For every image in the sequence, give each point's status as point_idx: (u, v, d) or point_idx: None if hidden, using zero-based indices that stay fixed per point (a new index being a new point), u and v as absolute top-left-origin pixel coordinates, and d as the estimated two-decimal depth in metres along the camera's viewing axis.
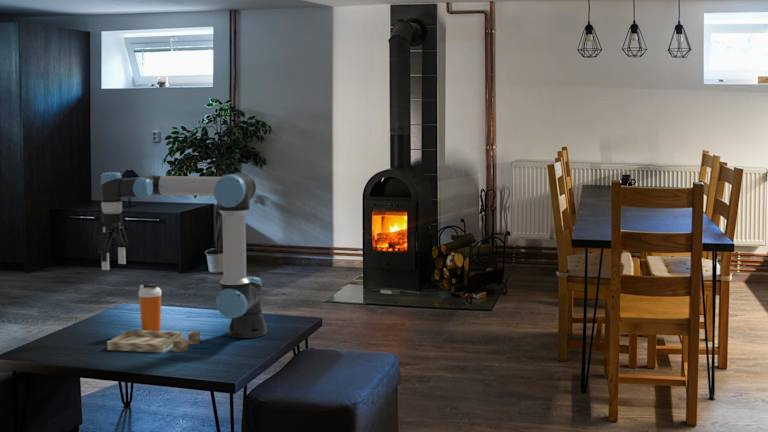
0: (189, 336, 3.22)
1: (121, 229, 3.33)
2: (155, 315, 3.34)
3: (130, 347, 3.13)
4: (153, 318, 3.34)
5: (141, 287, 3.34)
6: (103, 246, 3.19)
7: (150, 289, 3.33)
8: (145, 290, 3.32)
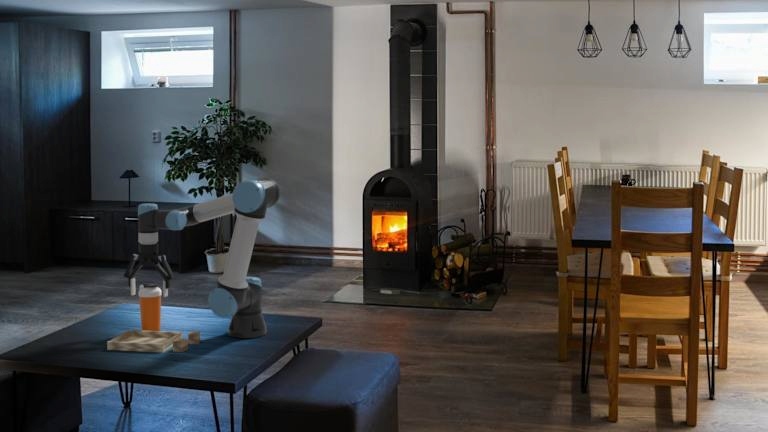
0: (189, 336, 3.22)
1: None
2: (155, 315, 3.34)
3: (130, 347, 3.13)
4: (153, 318, 3.34)
5: (141, 287, 3.34)
6: None
7: (150, 289, 3.33)
8: (145, 290, 3.32)
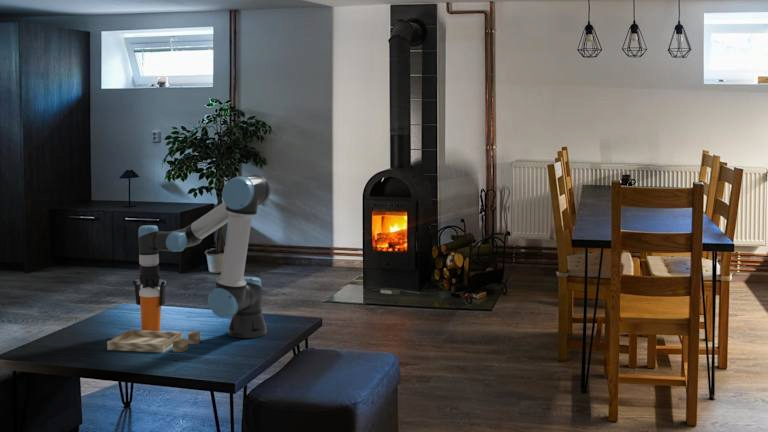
0: (189, 336, 3.22)
1: None
2: (155, 315, 3.34)
3: (130, 347, 3.13)
4: (153, 318, 3.34)
5: (142, 287, 3.34)
6: None
7: (151, 289, 3.33)
8: (146, 290, 3.32)
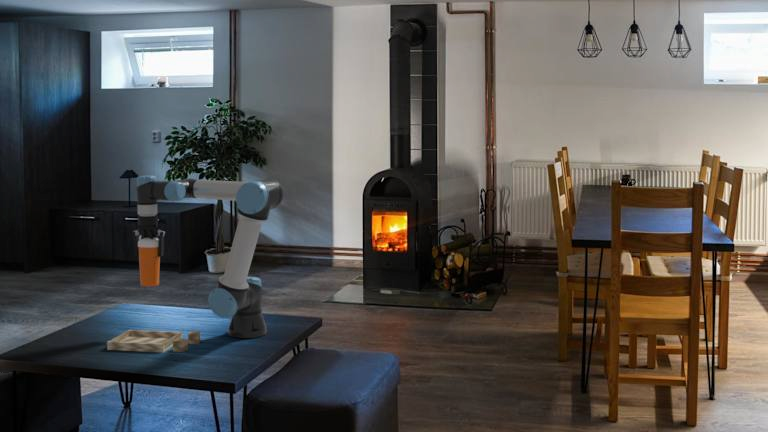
0: (189, 336, 3.22)
1: None
2: (154, 266, 3.32)
3: (130, 347, 3.13)
4: (152, 269, 3.32)
5: (140, 237, 3.32)
6: None
7: (150, 239, 3.31)
8: (145, 240, 3.30)
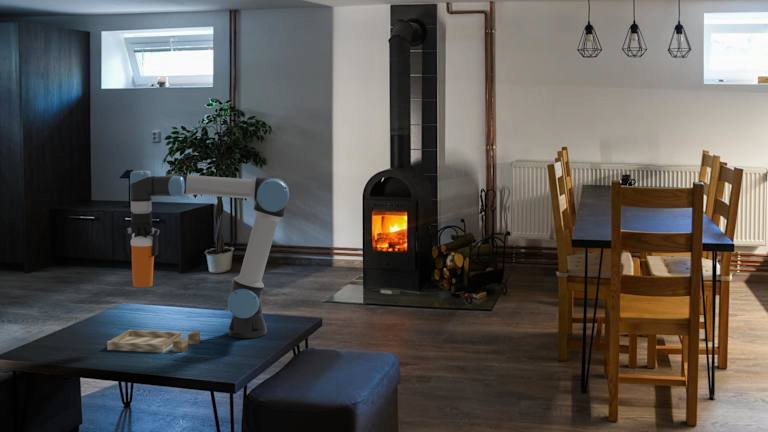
0: (189, 336, 3.22)
1: None
2: (147, 266, 3.15)
3: (130, 347, 3.13)
4: (146, 269, 3.15)
5: (133, 236, 3.15)
6: None
7: (143, 238, 3.14)
8: (138, 239, 3.13)
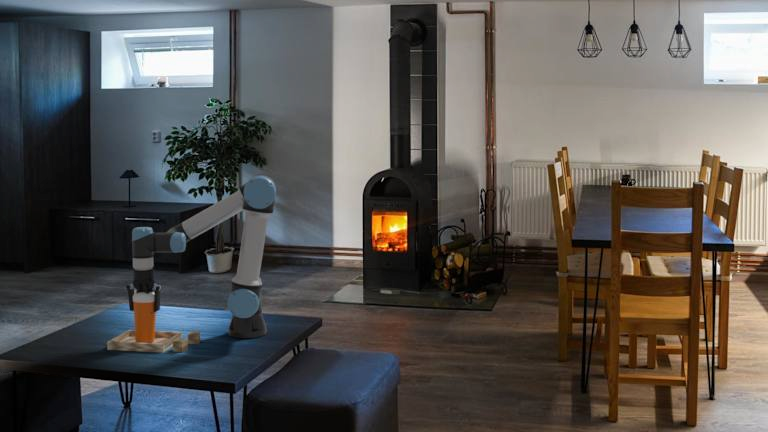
0: (189, 336, 3.22)
1: None
2: (149, 321, 3.17)
3: (130, 347, 3.13)
4: (148, 325, 3.17)
5: None
6: None
7: (145, 294, 3.16)
8: (140, 295, 3.16)
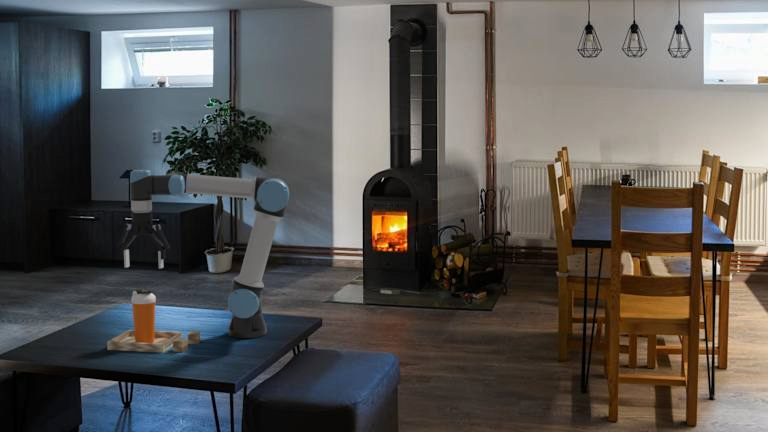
0: (189, 336, 3.22)
1: None
2: (149, 323, 3.17)
3: (130, 347, 3.13)
4: (147, 326, 3.17)
5: (134, 293, 3.18)
6: None
7: (144, 295, 3.16)
8: (138, 296, 3.16)
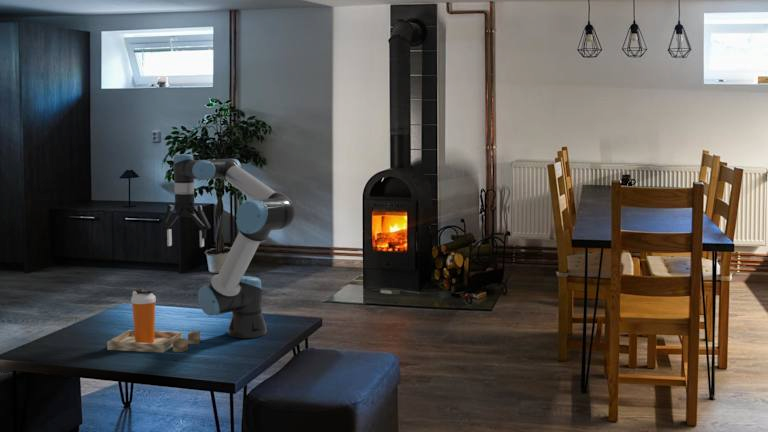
0: (189, 336, 3.22)
1: None
2: (149, 323, 3.17)
3: (130, 347, 3.13)
4: (147, 326, 3.17)
5: (134, 293, 3.18)
6: None
7: (144, 295, 3.16)
8: (138, 296, 3.16)
